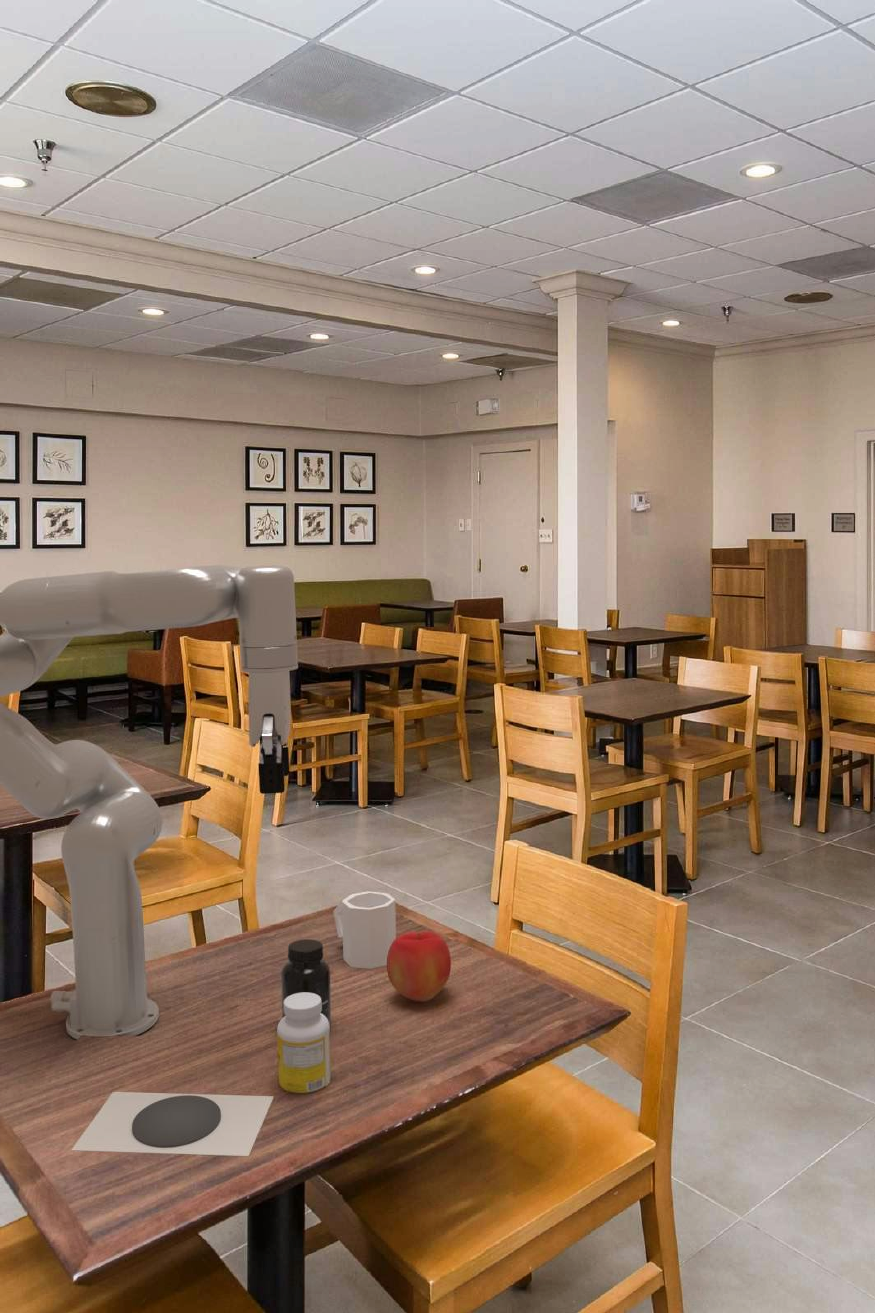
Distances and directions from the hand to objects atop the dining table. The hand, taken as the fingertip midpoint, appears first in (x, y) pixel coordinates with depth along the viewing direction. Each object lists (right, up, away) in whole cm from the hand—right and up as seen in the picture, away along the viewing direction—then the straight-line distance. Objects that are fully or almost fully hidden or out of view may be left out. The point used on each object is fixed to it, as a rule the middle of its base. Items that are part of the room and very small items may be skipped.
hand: (275, 783), depth 139 cm
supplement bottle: (+4, -35, +5) cm, 36 cm away
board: (-8, -38, -20) cm, 44 cm away
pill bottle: (+5, -37, -11) cm, 39 cm away
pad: (-8, -37, -20) cm, 43 cm away
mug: (+9, -32, +30) cm, 45 cm away
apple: (+19, -34, +14) cm, 41 cm away
